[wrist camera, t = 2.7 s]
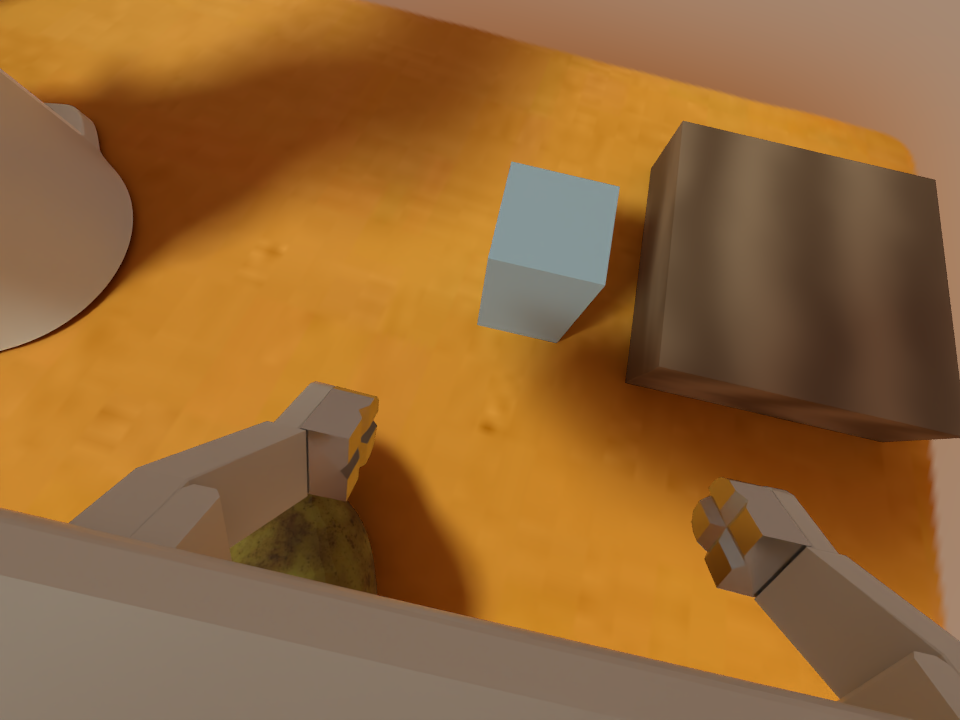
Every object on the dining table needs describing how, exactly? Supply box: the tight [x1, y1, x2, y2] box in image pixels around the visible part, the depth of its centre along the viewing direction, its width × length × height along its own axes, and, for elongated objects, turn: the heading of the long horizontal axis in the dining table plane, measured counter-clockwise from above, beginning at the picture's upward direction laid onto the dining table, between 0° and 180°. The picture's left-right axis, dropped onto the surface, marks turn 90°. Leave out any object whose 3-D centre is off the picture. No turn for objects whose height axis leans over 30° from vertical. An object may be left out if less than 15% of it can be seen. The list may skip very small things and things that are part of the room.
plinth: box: [625, 121, 960, 442], centre depth 24 cm, size 16×16×4 cm
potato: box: [229, 494, 377, 595], centre depth 16 cm, size 8×13×8 cm, turn 167°
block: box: [477, 162, 620, 343], centre depth 21 cm, size 5×5×8 cm
